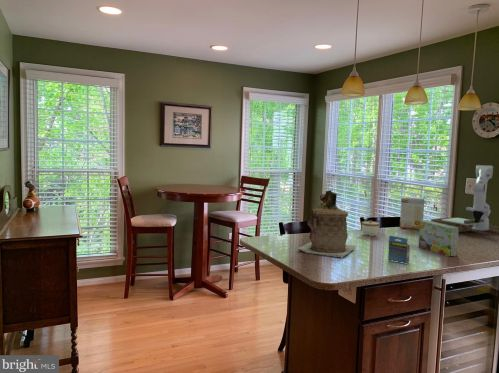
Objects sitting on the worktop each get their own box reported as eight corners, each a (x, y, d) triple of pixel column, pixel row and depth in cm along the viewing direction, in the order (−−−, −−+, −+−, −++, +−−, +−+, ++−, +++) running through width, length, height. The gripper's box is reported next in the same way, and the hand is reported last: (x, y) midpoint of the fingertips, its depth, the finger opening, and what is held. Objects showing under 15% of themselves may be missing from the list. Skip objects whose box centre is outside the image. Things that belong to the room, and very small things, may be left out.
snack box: (417, 247, 216) (419, 220, 215) (425, 246, 218) (427, 219, 217) (449, 257, 197) (451, 227, 195) (457, 256, 199) (459, 227, 197)
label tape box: (409, 263, 185) (410, 237, 184) (406, 264, 182) (407, 238, 181) (390, 259, 191) (392, 234, 190) (387, 261, 188) (388, 235, 186)
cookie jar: (357, 249, 210) (360, 189, 207) (343, 259, 188) (346, 193, 186) (313, 242, 222) (315, 186, 219) (295, 252, 201) (297, 189, 198)
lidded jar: (380, 237, 240) (381, 222, 239) (362, 236, 241) (362, 221, 240) (377, 233, 250) (378, 219, 249) (359, 232, 252) (360, 218, 251)
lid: (457, 218, 275) (457, 214, 275) (483, 223, 260) (483, 219, 259) (441, 220, 267) (441, 216, 266) (466, 225, 251) (467, 220, 251)
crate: (447, 225, 282) (447, 217, 282) (471, 230, 267) (472, 221, 266) (430, 227, 274) (431, 219, 273) (455, 232, 258) (455, 223, 258)
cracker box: (422, 229, 269) (424, 198, 267) (421, 230, 264) (423, 199, 262) (401, 226, 276) (403, 196, 274) (399, 227, 271) (401, 197, 269)
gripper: (464, 200, 257) (462, 221, 259) (486, 203, 245) (484, 225, 246) (470, 200, 261) (469, 220, 262) (493, 203, 248) (491, 224, 249)
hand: (477, 222), depth 254 cm, fingers closed
